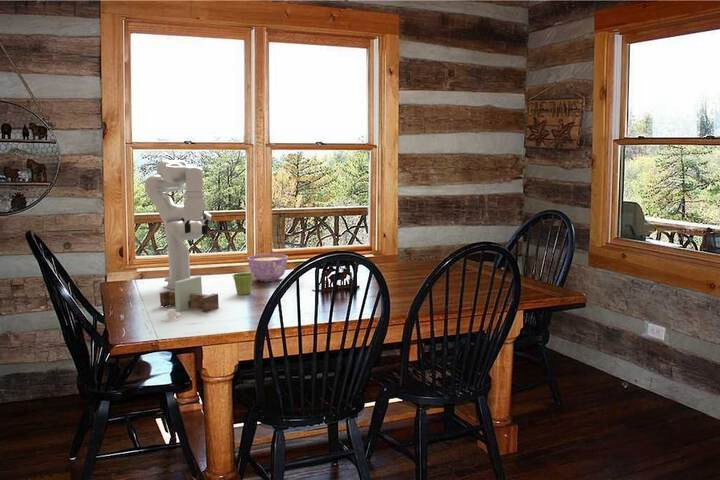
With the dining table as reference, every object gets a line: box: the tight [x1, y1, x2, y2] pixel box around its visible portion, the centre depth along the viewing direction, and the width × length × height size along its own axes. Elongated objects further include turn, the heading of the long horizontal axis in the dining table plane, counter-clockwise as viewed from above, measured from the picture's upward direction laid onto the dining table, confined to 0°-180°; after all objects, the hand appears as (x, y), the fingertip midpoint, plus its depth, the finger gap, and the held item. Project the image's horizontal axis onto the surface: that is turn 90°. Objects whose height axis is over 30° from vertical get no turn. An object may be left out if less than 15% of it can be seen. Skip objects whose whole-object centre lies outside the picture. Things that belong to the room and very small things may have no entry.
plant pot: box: [232, 272, 254, 296], centre depth 313 cm, size 9×9×9 cm
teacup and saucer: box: [166, 308, 181, 320], centre depth 270 cm, size 9×8×4 cm
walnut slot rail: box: [159, 289, 220, 313], centre depth 288 cm, size 24×8×6 cm, turn 63°
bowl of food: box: [247, 253, 289, 283], centre depth 343 cm, size 20×20×12 cm
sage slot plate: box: [174, 275, 203, 312], centre depth 288 cm, size 2×14×12 cm, turn 153°
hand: (196, 233), depth 308 cm, fingers open, 9 cm apart
